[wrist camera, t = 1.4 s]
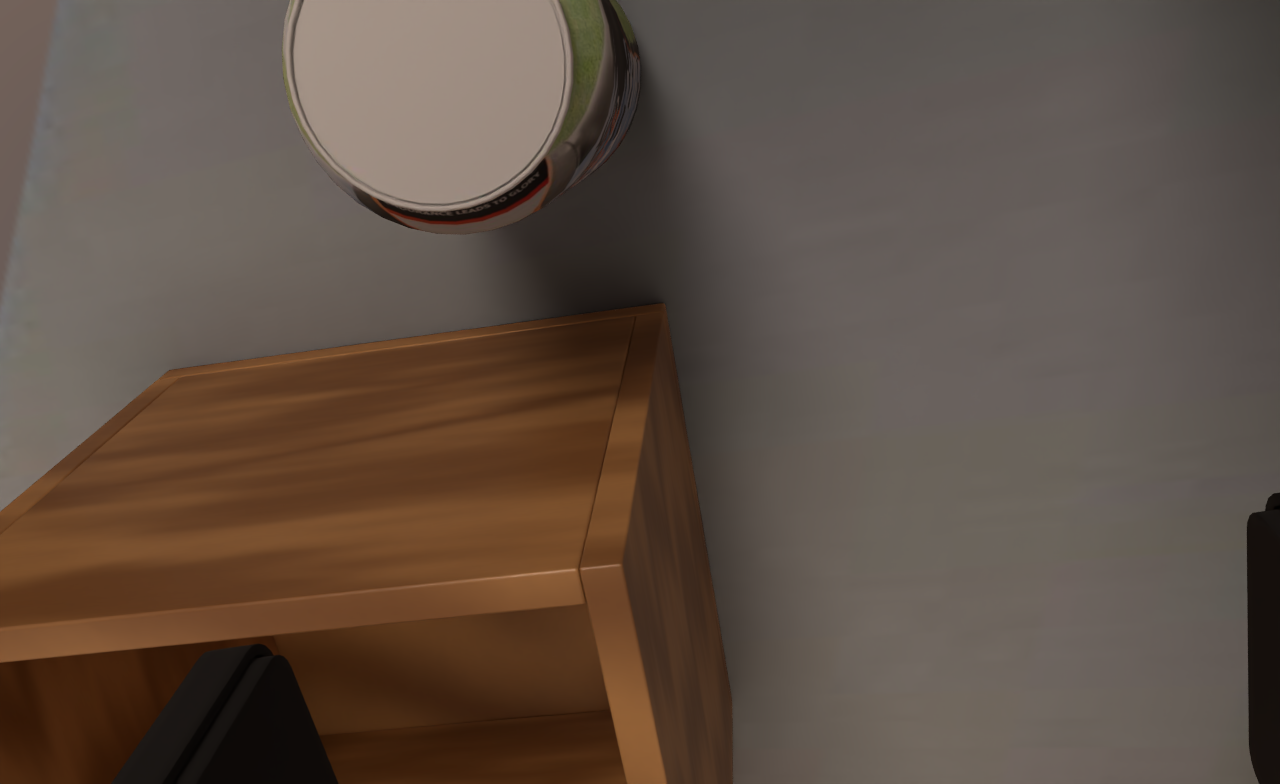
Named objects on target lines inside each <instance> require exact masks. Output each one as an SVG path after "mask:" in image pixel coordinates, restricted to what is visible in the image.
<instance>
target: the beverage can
mask: <svg viewBox="0 0 1280 784" xmlns="http://www.w3.org/2000/svg"><path fill="white" fill-rule="evenodd" d="M282 62H283V78H284V83H285V88H286V92H287V97H288V101H289V105H290V109H291V112H292V114H293V117H294V119H295V122H296V124H297V126H298V129H299V131H300V134H301V136H302V138H303V140H304V141H305V143H306V144H307V146H308V148H309V149H310V151H311V153H312V154H313V156H314V158H315V159H316V161H317V162H318V163H319V165H320V166H321V167H322V168H323V169H324V170H325V172H326V173H327V174H328V175H329V176H330V178H331V179H332V180H333V181H334V182H335V183H336V184H337V185H338V186H339V187H340V188H341V189H342V190H344V191H345V192H346V193H347V194H348V195H349V196H351V197H352V198H353V199H354V200H355V201H357V202H358V203H359V204H361V205H363V206H364V207H366V208H368V209H369V210H371V211H373V212H374V213H376V214H378V215H379V216H381V217H383V218H385V219H388V220H390V221H393V222H395V223H398V224H401V225H403V226H406V227H408V228H412V229H417V230H422V231H427V232H431V233H436V234H470V233H477V232H484V231H490V230H495V229H498V228H500V227H503V226H506V225H509V224H512V223H515V222H518V221H520V220H522V219H524V218H525V217H527V216H529V215H531V214H533V213H534V212H536V211H538V210H540V209H541V208H543V207H545V206H546V205H548V204H549V203H550V202H552V201H553V200H555V199H556V198H557V197H559V196H560V195H562V194H563V193H565V192H566V191H567V190H569V189H570V188H572V187H573V186H575V185H576V184H577V183H579V182H580V181H582V180H583V179H585V178H586V177H587V176H589V175H590V174H592V173H593V172H594V171H595V170H596V169H598V168H599V167H600V166H601V165H602V164H604V163H605V162H606V161H607V160H608V159H609V158H610V156H611V155H612V154H613V153H614V152H615V150H616V149H617V148H618V147H619V146H620V144H621V142H622V140H623V139H624V137H625V135H626V134H627V132H628V130H629V129H630V126H631V123H632V121H633V118H634V115H635V112H636V110H637V105H638V100H639V95H640V89H641V64H640V57H639V51H638V45H637V42H636V39H635V36H634V33H633V30H632V27H631V25H630V23H629V21H628V19H627V17H626V15H625V13H624V12H623V10H622V8H621V6H620V5H619V4H618V2H617V1H616V0H290V3H289V7H288V10H287V14H286V17H285V23H284V33H283V42H282Z"/></svg>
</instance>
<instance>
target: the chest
mask: <svg viewBox="0 0 1280 784" xmlns="http://www.w3.org/2000/svg"><path fill="white" fill-rule="evenodd" d="M252 644H262V645H266V646H267V647H268V648H269V649H270V650H271V651H272V653H273V655H281V656H284V657H285V658H286V659H287V660H288V662H289V664H290V666H291V667H292V670H293V672H294V675H295V677H296V680H297V682H298V685H299V687H300V690H301V692H302V695H303V697H304V700H305V702H306V704H307V707H308V709H309V712H310V714H311V717H312V719H313V722H314V724H315V727H316V729H317V732H318V734H319V737H320V739H321V742H322V744H323V746H324V749H325V751H326V754H327V756H328V759H329V761H330V764H331V766H332V769H333V771H334V774H335V776H336V779H337V781H338V784H733V718H732V697H731V691H730V685H729V679H728V673H727V667H726V661H725V655H724V649H723V643H722V637H721V631H720V626H719V620H718V614H717V608H716V602H715V596H714V590H713V584H712V578H711V572H710V566H709V560H708V554H707V548H706V542H705V537H704V531H703V525H702V519H701V513H700V507H699V501H698V495H697V489H696V483H695V477H694V471H693V465H692V459H691V453H690V448H689V442H688V436H687V430H686V424H685V418H684V412H683V406H682V400H681V394H680V388H679V382H678V376H677V370H676V364H675V359H674V353H673V347H672V341H671V335H670V329H669V323H668V317H667V311H666V306H665V304H664V303H660V304H652V305H645V306H638V307H630V308H623V309H616V310H608V311H601V312H593V313H586V314H579V315H571V316H564V317H557V318H549V319H542V320H535V321H527V322H520V323H512V324H505V325H498V326H490V327H483V328H476V329H468V330H461V331H454V332H446V333H439V334H431V335H424V336H417V337H409V338H402V339H395V340H387V341H380V342H373V343H365V344H358V345H350V346H343V347H336V348H328V349H321V350H314V351H306V352H299V353H291V354H284V355H277V356H269V357H262V358H255V359H247V360H240V361H233V362H225V363H218V364H210V365H203V366H196V367H188V368H181V369H174V370H169V371H168V372H166V373H165V374H164V375H163V376H162V377H160V378H159V380H157V381H155V382H154V383H153V384H152V385H151V386H149V387H148V388H147V389H146V390H145V391H144V392H142V393H141V394H140V395H139V396H138V397H136V398H135V399H134V400H133V401H132V402H130V403H129V404H128V405H127V406H126V407H124V408H123V409H122V410H121V411H120V412H119V413H117V414H116V415H115V416H114V417H113V418H111V419H110V420H109V421H108V422H107V423H105V424H104V425H103V426H102V427H101V428H100V429H98V430H97V431H96V432H95V433H94V434H92V435H91V436H90V437H89V438H88V439H86V440H85V441H84V442H83V443H82V444H80V445H79V446H78V447H77V448H76V449H75V450H73V451H72V452H71V453H70V454H69V455H67V456H66V457H65V458H64V459H63V460H61V461H60V462H59V463H58V464H57V465H55V466H54V467H53V468H52V469H51V470H50V471H48V472H47V473H46V474H45V475H44V476H42V477H41V478H40V479H39V480H38V481H36V482H35V483H34V484H33V485H32V486H30V487H29V488H28V489H27V490H26V491H25V492H23V493H22V494H21V495H20V496H19V497H17V498H16V499H15V500H14V501H13V502H11V503H10V504H9V505H8V506H7V507H5V508H4V509H3V510H2V511H1V512H0V784H111V783H112V781H113V780H114V779H115V777H116V776H117V774H118V773H119V771H120V770H121V769H122V767H123V766H124V764H125V763H126V761H127V760H128V759H129V757H130V756H131V754H132V753H133V751H134V750H135V749H136V747H137V746H138V744H139V743H140V741H141V740H142V739H143V737H144V736H145V734H146V733H147V731H148V730H149V729H150V727H151V726H152V724H153V723H154V721H155V720H156V719H157V717H158V716H159V714H160V713H161V711H162V710H163V709H164V707H165V706H166V704H167V703H168V701H169V700H170V699H171V697H172V696H173V694H174V693H175V691H176V690H177V689H178V687H179V686H180V684H181V683H182V681H183V680H184V679H185V677H186V676H187V674H188V673H189V671H190V670H191V669H192V667H193V666H194V664H195V663H196V661H197V660H198V659H199V658H200V657H201V656H202V655H203V654H204V653H205V652H208V651H211V650H218V649H225V648H232V647H238V646H245V645H252Z"/></svg>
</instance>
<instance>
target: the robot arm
mask: <svg viewBox="0 0 1280 784" xmlns="http://www.w3.org/2000/svg"><path fill="white" fill-rule="evenodd" d="M1247 592H1248V694H1249V749H1250V756H1251V761H1252V765H1253V768H1254V771H1255V774H1256V777H1257V779H1258V782H1259V784H1280V493H1275V494H1272V495H1271V496H1270V497H1269V498H1268V501H1267V504H1266V509H1265V511H1263V512H1256V513H1252V514H1251V515H1250V516H1249V519H1248V522H1247ZM111 784H338V781H337V779H336V776H335V774H334V771H333V769H332V766H331V764H330V761H329V759H328V756H327V754H326V751H325V749H324V746H323V744H322V742H321V739H320V737H319V734H318V732H317V729H316V727H315V724H314V722H313V719H312V717H311V714H310V712H309V709H308V707H307V704H306V702H305V700H304V697H303V695H302V692H301V690H300V687H299V685H298V682H297V680H296V677H295V675H294V672H293V670H292V667H291V666H290V664H289V662H288V660H287V659H286V658H285V657H284V656H281V655H273V653H272V651H271V650H270V649H269V648H268V647H267V646H266V645H262V644H252V645H245V646H238V647H232V648H225V649H218V650H211V651H208V652H205V653H204V654H203V655H202V656H201V657H200V658H199V659H198V660H197V661H196V663H195V664H194V666H193V667H192V669H191V670H190V671H189V673H188V674H187V676H186V677H185V679H184V680H183V681H182V683H181V684H180V686H179V687H178V689H177V690H176V691H175V693H174V694H173V696H172V697H171V699H170V700H169V701H168V703H167V704H166V706H165V707H164V709H163V710H162V711H161V713H160V714H159V716H158V717H157V719H156V720H155V721H154V723H153V724H152V726H151V727H150V729H149V730H148V731H147V733H146V734H145V736H144V737H143V739H142V740H141V741H140V743H139V744H138V746H137V747H136V749H135V750H134V751H133V753H132V754H131V756H130V757H129V759H128V760H127V761H126V763H125V764H124V766H123V767H122V769H121V770H120V771H119V773H118V774H117V776H116V777H115V779H114V780H113V781H112V783H111Z"/></svg>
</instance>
